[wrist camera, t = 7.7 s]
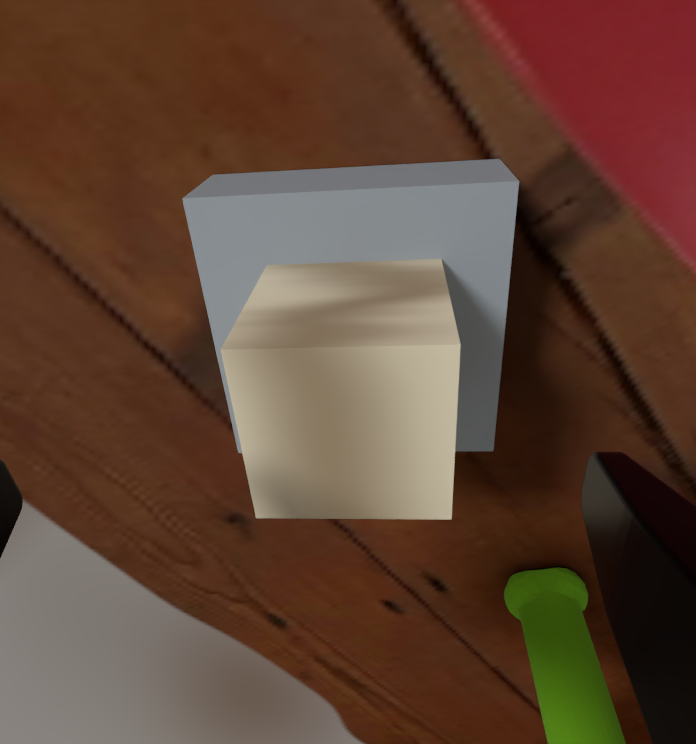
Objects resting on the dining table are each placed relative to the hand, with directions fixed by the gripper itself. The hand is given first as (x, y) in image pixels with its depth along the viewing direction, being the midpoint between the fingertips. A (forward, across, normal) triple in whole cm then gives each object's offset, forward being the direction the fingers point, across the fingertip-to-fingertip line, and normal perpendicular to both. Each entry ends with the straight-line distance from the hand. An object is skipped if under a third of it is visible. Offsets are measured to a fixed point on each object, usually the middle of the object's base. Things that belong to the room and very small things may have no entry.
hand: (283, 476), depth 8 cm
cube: (+9, 0, +2) cm, 9 cm away
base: (+12, 0, +2) cm, 12 cm away
